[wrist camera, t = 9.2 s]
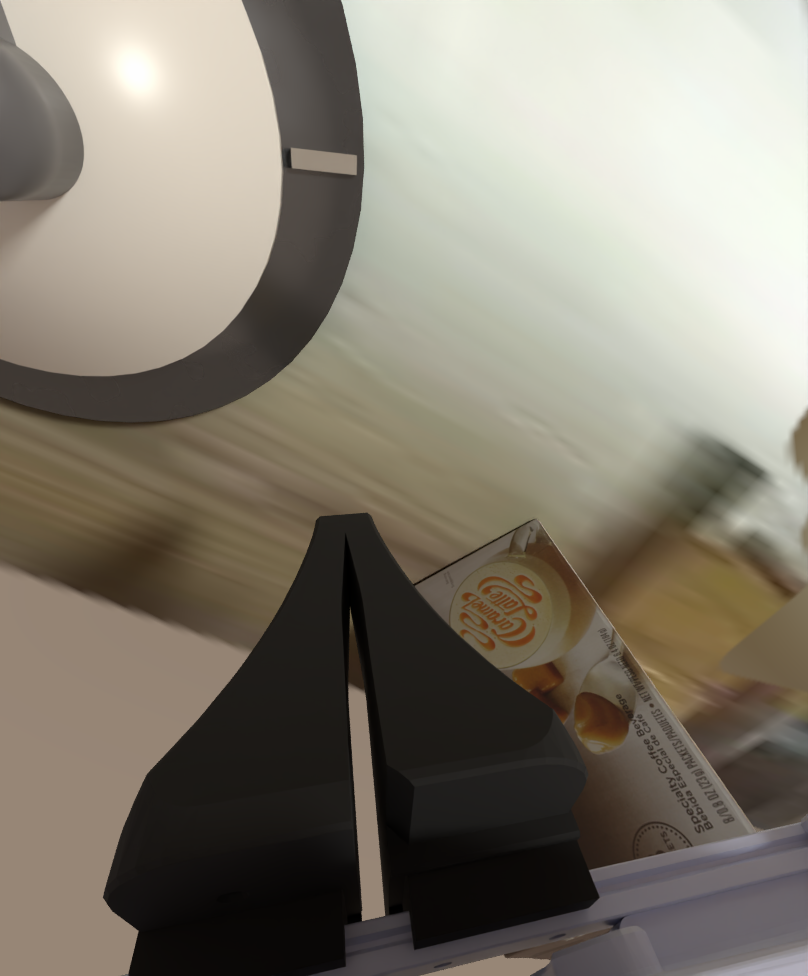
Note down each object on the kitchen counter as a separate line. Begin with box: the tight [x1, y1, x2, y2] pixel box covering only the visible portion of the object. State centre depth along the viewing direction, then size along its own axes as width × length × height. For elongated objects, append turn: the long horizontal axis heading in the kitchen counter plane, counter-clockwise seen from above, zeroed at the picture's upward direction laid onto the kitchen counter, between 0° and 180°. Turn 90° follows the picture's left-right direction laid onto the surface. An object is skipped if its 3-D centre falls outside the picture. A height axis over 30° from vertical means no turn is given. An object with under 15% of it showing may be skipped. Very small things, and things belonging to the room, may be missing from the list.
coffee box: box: [415, 519, 757, 960], centre depth 21 cm, size 9×6×16 cm
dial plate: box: [0, 0, 364, 422], centre depth 12 cm, size 18×18×1 cm
